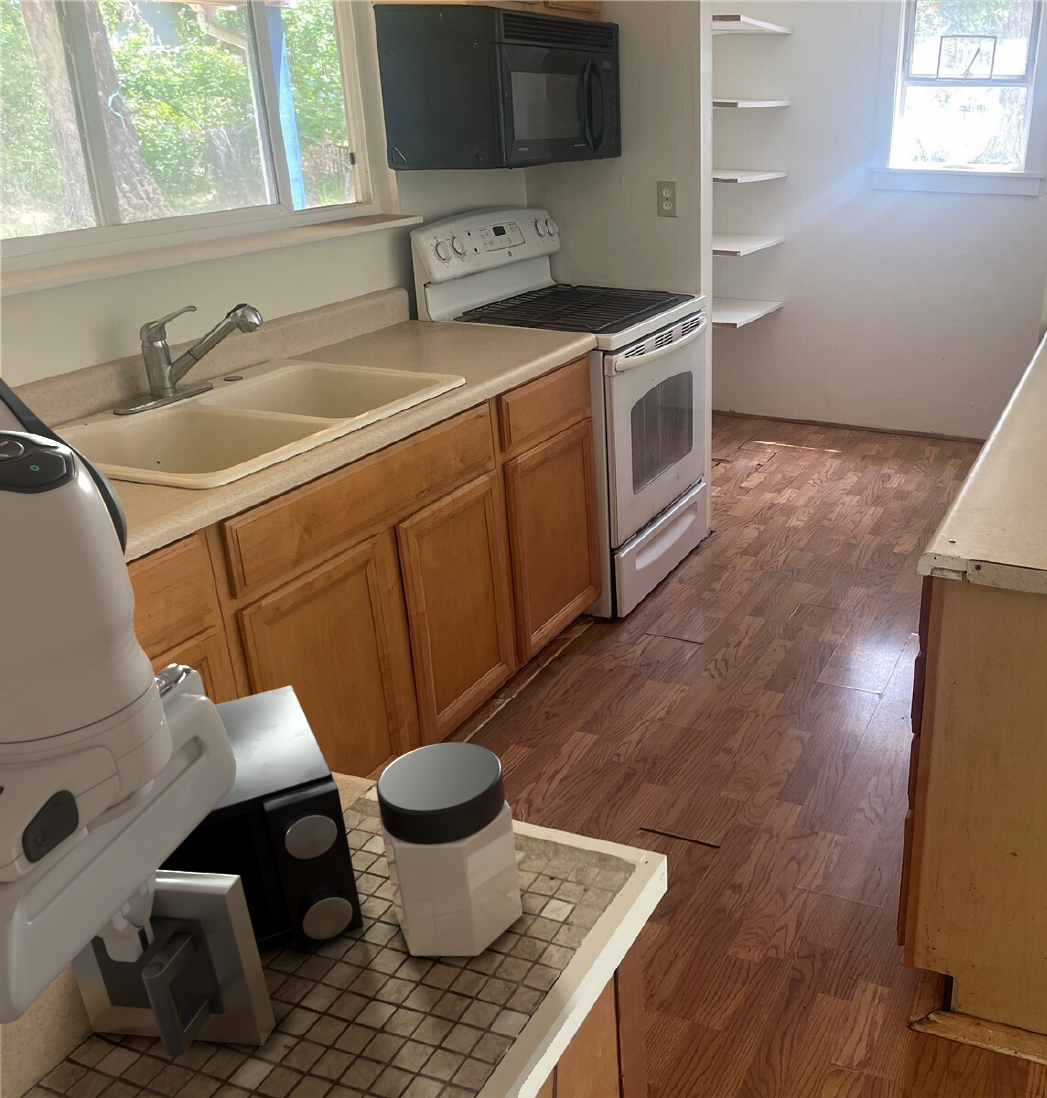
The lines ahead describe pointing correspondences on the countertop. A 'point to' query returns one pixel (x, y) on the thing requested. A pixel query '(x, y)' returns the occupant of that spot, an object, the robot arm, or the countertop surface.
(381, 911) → the countertop surface
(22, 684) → the robot arm
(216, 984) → the oven door
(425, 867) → the jar
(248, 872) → the oven
